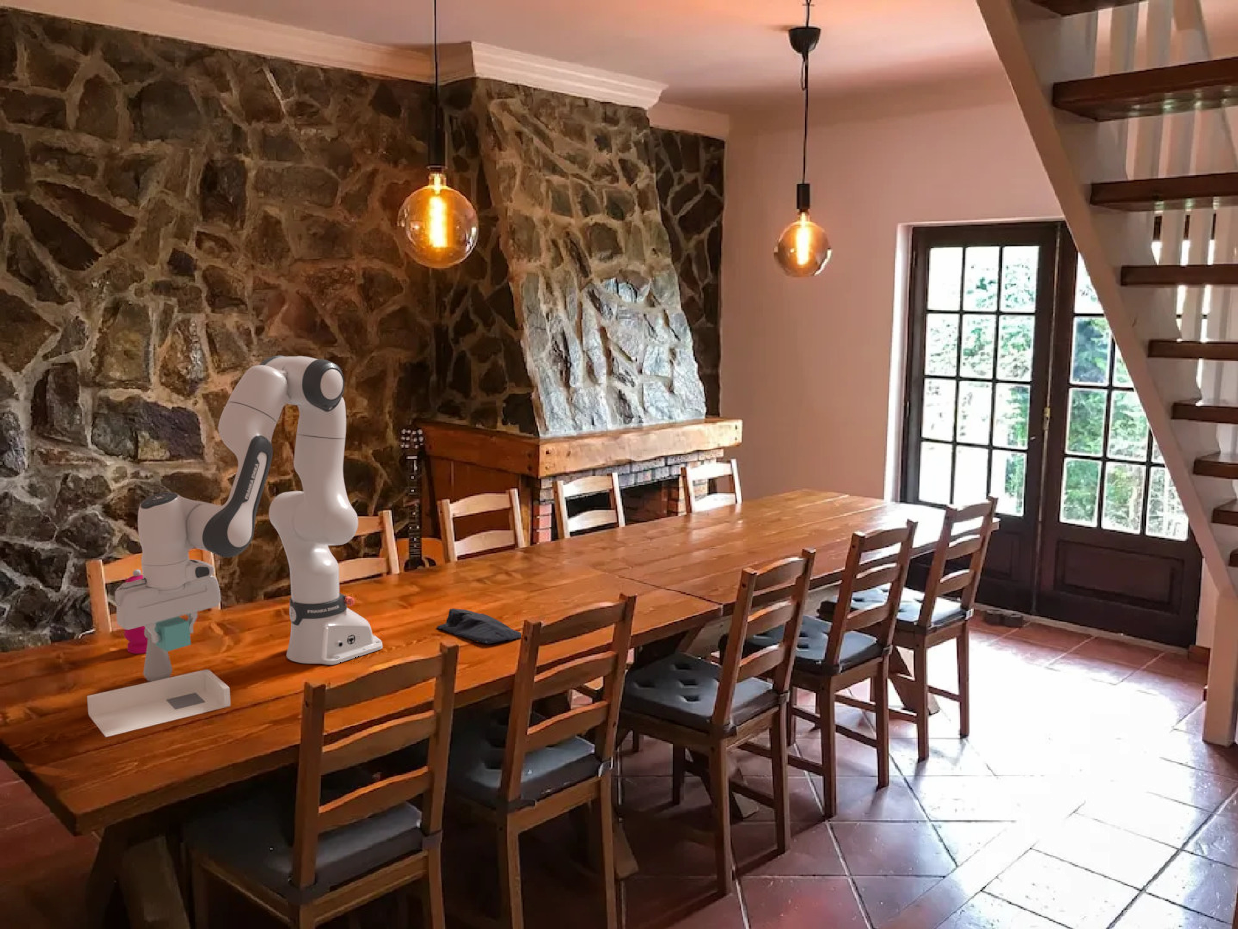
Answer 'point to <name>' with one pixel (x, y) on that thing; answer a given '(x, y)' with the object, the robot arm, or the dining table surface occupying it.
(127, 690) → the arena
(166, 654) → the salt shaker
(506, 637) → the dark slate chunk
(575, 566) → the dining table surface
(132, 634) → the pepper mill
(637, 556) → the dining table surface
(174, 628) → the cube
